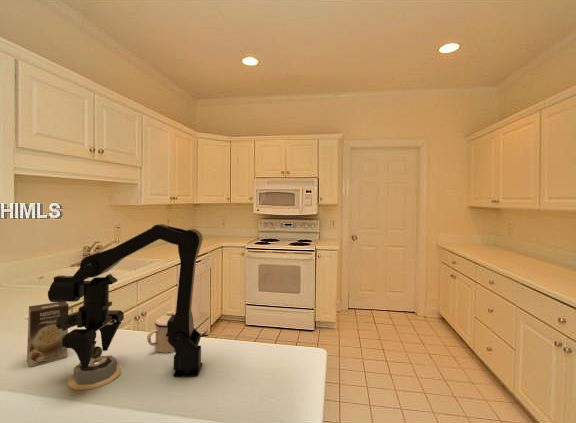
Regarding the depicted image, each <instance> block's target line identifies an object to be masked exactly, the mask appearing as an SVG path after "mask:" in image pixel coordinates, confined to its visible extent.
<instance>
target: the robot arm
mask: <svg viewBox="0 0 576 423" xmlns="http://www.w3.org/2000/svg"><path fill="white" fill-rule="evenodd" d="M159 240H161V241H164V242H167V243H170V244H173V245H176V246H177V250H178V255H179V261H180V266H179V267H180V268H179V276H178V284H177V285H178V286H177V298H176V308H175V313H173V314H172V316H171V317H170V319H169V320H168V322H167V328H168V331H167V334H166V336H165V337H167V336H168V342H169V344H170V345H171V346H172V347H174V349H175V351H174V352H175V354H174V356H173V371H174V373H173V377H177V378H178V377H197V376H198V375H199V373H200V371H201V368H202V366H203V362H202V345H199V344H200V342H201V338H202V333H200V332H199V331H198V330H197V329H195V325H194V316H193V311H192V304H193V303H192V302H193V295H194V286H195V284H194V282H195V273H196V262H197V259H198V256H199V253H200V251H201V247H202V244H203V240H204V239H203V235H202V233H201V232H200V231H199V230H197V229H195V228H189V229H183V228H177V227H174V226H170V225H166V224H164V223H158V224H154V225H153V226H152V227H151V228H149V229H146V230H145V231H143V232H141V233H139V234H137V235H135V236H134V237H132V238H130V239H128V240H126V241H125V242H122V243H120V244H119V245H117V246H114V247H112V248H109V249H106V250H103V251H100V252H97V253H94V254H91V255H88V256H86V257H85V256H84V258H82V260H81V261H80V265H79V268H78V269H77V271H76V272H75V273H74V274H73V275H57V276H54V277H53V282H52V283H51V284H50V286H49V290H48V291H47V297H48V301H49V302H50V303H55V302H67V303H72V302H74V303H75V302H78V301H80V299H81V298H83V305H82V306H80V307H79V308H78V310H77V311H75V312H71V313H68V314H64V315H61V316H59V317H57V321H56V327H57V328H58V329H62V331H65V330H67V329H68V330H69V329H71V328H73V327H76V328H74V329H72V330H71V331H68V333H67V334H66V335H65V336H64V337H63V338H62V339H61V346H62V347H66V348H68V349H72V350H73V351H74V352H75V354H76V355H77V357H78V360H79V363H81V365H82V367H83V368H87V367H88V365H89V363H90V360H91V357H92V354H93V350H94V348H95V347H96V344H97V340H96V339H97V332H98V331H99V332H100V339H101V340H100V341H101V348H102V352H107V351H108V350H109V348H110V346H111V343H112V341H113V340H114V337H115V335H116V333H117V331H118V330H119V327H120V325H121V324H122V321H124V318H125V314H124V312H123V311H122V310H121V309H120V310H117V309H116V310H113V309H111V310H109V308H110V307H112V305H113V301H109V300H110V299H109V298H110V292H109V291H110V290H109V289H110V286H111V285H113V284H115V283H117V282H118V278H116V277H115V276H113V275H112V274H111V273H109V274H107V275H106V276H101V277H99V276H100V275H103V274H105V273H107V272H109V271H110V270H112V269H113V268H114V267H115V266H117V265H118V264H119V263H120V262H121V261H122V260H124V259H126V258H127V257H129V256H131V255H132V254H135V253H136V252H138V251H140V250H143V249H144V248H145V247H148V246H150V245H151V244H152V245H153V243H155V242H158V241H159ZM91 278H92V279H91ZM88 279H91V280H88ZM174 314H175V315H174Z"/></svg>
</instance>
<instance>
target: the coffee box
mask: <svg viewBox="0 0 576 423" xmlns="http://www.w3.org/2000/svg"><path fill="white" fill-rule="evenodd" d="M68 303H69V302H49V303H44V304H43V303H42V304H36V305H29V306H28V318H27V319H28V321H27V322H28V323H27V347H26V348H27V351H26V352H27V354H26V355H27V357H26V361H27V366H28V367H29V368H32V367H35V366H40V365H43V364H47V363H50V362H54V361H59V360H62V359H67V358H68V349H69V348H66V347H62V346H61V339H62V338H63V337H64V336H65V335H66V334H67V333H69V328H68V329H67V330H65V331H62V329H58V328H57V327H56V321H57V317H59V316H61V315H64V314H68V315H69V304H68Z"/></svg>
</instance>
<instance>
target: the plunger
mask: <svg viewBox="0 0 576 423" xmlns="http://www.w3.org/2000/svg"><path fill="white" fill-rule="evenodd" d="M102 354H103V349H102V346H97V345H95V348H94V350H93V354H92V357H91V360H90V363H89V365H88V367H93V371H94V370H97V369H98V366H99V365H102V364H104V363H105V362H106V361H107V357H106V356H107V355H102Z"/></svg>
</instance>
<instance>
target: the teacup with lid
mask: <svg viewBox="0 0 576 423" xmlns="http://www.w3.org/2000/svg"><path fill="white" fill-rule="evenodd" d="M172 314H174V315H175V313H174V311H173V310H172V311H171V310H169V311H167V312H166V314H165V315H163V316H161V317H158V318H157V319H156V320H155V322H154V325H155V329H152V330H150V331H149V332H148V334H147V336H146V337H147V338H146V339H147V340H146V341H147V343H148V344H149V345H150V346H153V347H155V350H156V352H158V353H161V352H162V354H163V353H164V354H167V353H168V352H169V353H173V352H175V349H174V347H172V346H171V345H170V344H169V342H168V336H167V337H165V336H166V334H167V331H168V328H167V322H168V320H169V319H170V317H171V316H172ZM153 334H155V342H152V340H151V339H152V336H153Z"/></svg>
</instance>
